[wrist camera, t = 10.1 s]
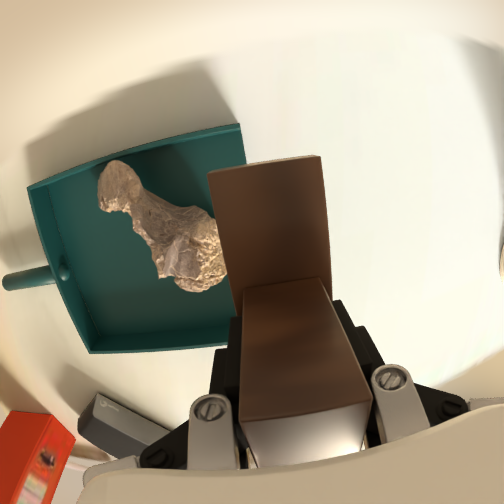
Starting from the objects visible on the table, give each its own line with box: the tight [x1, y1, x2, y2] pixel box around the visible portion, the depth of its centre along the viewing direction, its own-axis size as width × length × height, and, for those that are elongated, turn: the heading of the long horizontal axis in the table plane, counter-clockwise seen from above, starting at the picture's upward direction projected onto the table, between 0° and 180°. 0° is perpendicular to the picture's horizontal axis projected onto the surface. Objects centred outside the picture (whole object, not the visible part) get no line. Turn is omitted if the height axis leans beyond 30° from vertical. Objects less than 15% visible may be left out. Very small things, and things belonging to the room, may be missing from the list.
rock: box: [97, 160, 227, 292], centre depth 21 cm, size 6×14×7 cm, turn 47°
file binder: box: [0, 411, 76, 504], centre depth 24 cm, size 8×17×32 cm, turn 108°
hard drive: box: [78, 394, 170, 459], centre depth 35 cm, size 13×19×4 cm
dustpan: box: [2, 123, 247, 354], centre depth 25 cm, size 31×19×3 cm, turn 99°
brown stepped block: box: [207, 155, 373, 468], centre depth 10 cm, size 4×14×9 cm, turn 9°
